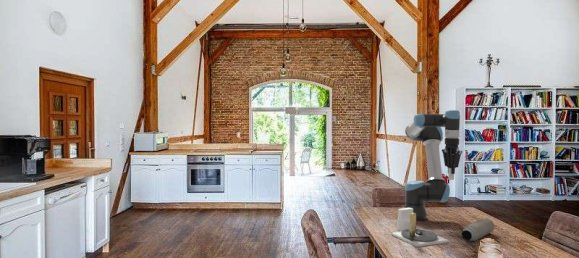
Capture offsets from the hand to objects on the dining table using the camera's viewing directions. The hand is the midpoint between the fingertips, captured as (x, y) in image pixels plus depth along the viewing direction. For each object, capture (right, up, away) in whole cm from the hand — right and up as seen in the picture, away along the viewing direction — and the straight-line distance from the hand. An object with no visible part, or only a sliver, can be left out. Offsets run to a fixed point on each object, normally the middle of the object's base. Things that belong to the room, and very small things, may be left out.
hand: (451, 179), depth 207 cm
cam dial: (-23, -28, -14) cm, 39 cm away
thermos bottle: (+20, -26, -1) cm, 32 cm away
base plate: (-23, -29, -14) cm, 40 cm away
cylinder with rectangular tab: (-25, -29, +3) cm, 38 cm away
